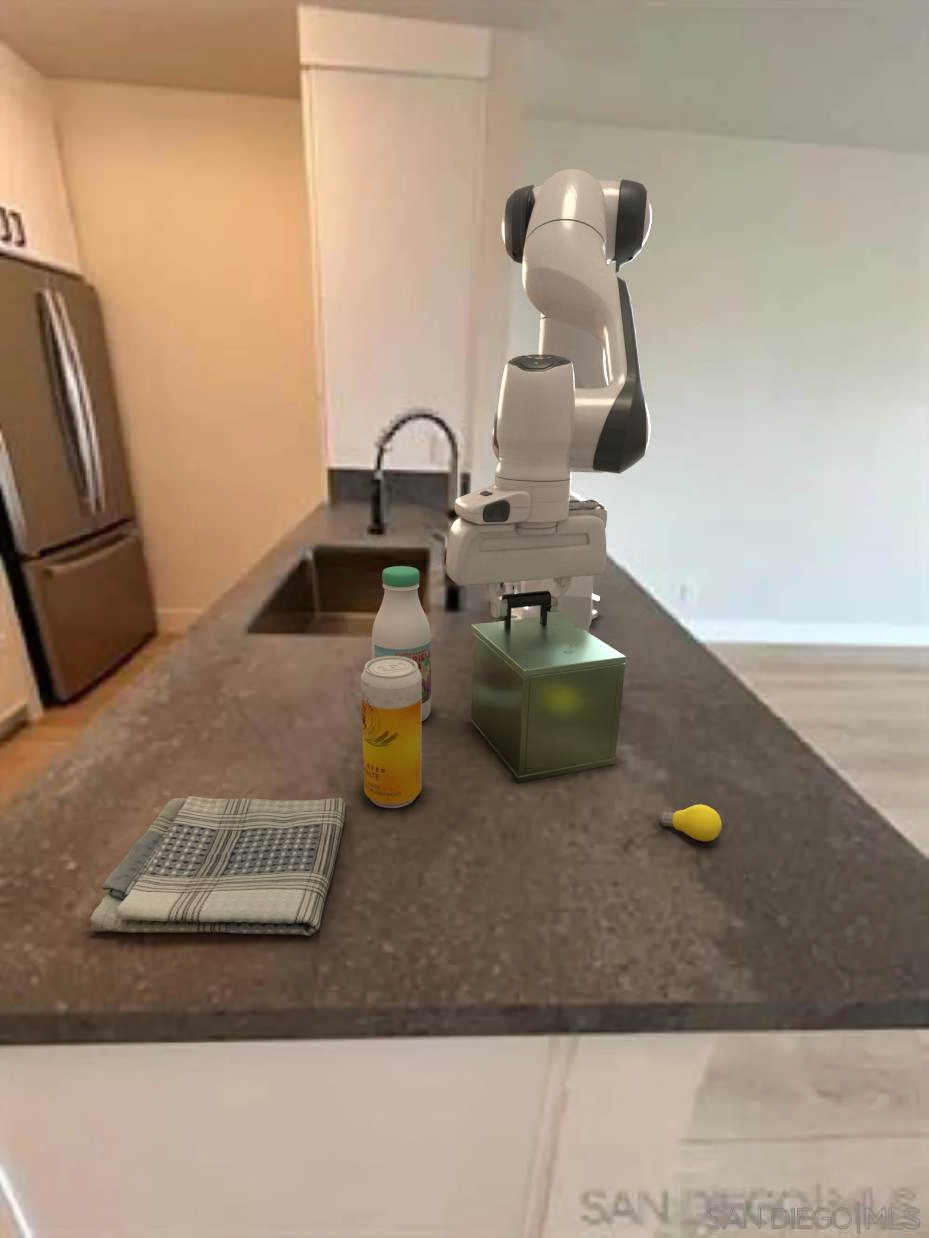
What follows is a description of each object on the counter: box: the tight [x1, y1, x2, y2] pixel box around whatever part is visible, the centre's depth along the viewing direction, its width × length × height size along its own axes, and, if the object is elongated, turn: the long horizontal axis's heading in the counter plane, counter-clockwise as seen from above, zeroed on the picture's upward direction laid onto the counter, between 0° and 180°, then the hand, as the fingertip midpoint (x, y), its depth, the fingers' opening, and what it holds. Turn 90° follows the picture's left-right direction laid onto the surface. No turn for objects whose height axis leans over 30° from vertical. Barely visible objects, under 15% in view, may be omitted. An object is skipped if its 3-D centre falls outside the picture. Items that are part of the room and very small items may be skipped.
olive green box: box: [470, 632, 626, 784], centre depth 82 cm, size 15×13×13 cm
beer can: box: [360, 656, 423, 809], centre depth 70 cm, size 6×6×15 cm
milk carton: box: [539, 575, 595, 634], centre depth 98 cm, size 7×7×19 cm
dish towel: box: [89, 795, 347, 937], centre depth 60 cm, size 19×18×3 cm
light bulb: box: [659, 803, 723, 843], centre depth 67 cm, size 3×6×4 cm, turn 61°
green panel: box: [470, 591, 627, 677], centre depth 79 cm, size 15×13×5 cm
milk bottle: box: [371, 565, 432, 722], centre depth 87 cm, size 8×8×20 cm
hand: (525, 613), depth 84 cm, fingers closed on green panel, 6 cm apart
